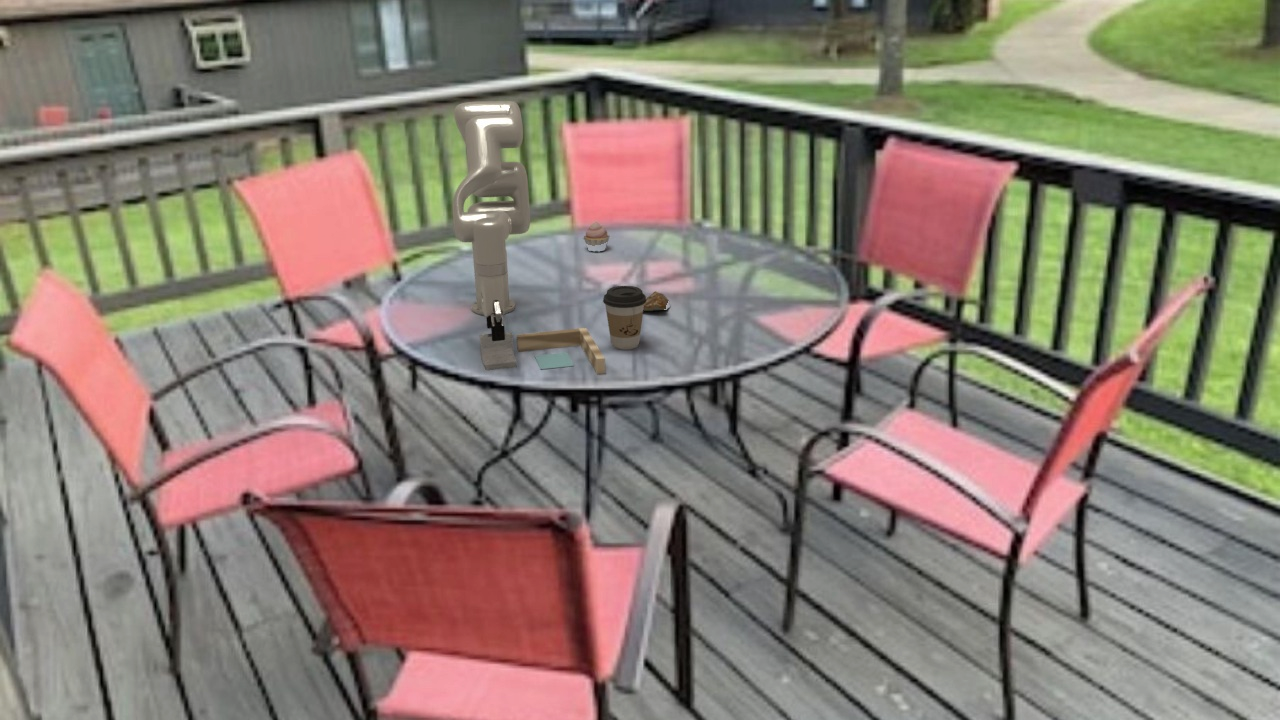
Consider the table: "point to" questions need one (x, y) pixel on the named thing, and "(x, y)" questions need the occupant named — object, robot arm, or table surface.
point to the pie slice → (655, 302)
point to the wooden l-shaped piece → (564, 344)
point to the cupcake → (596, 235)
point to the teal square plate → (554, 361)
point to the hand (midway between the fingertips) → (495, 333)
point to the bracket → (497, 352)
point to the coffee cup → (624, 315)
